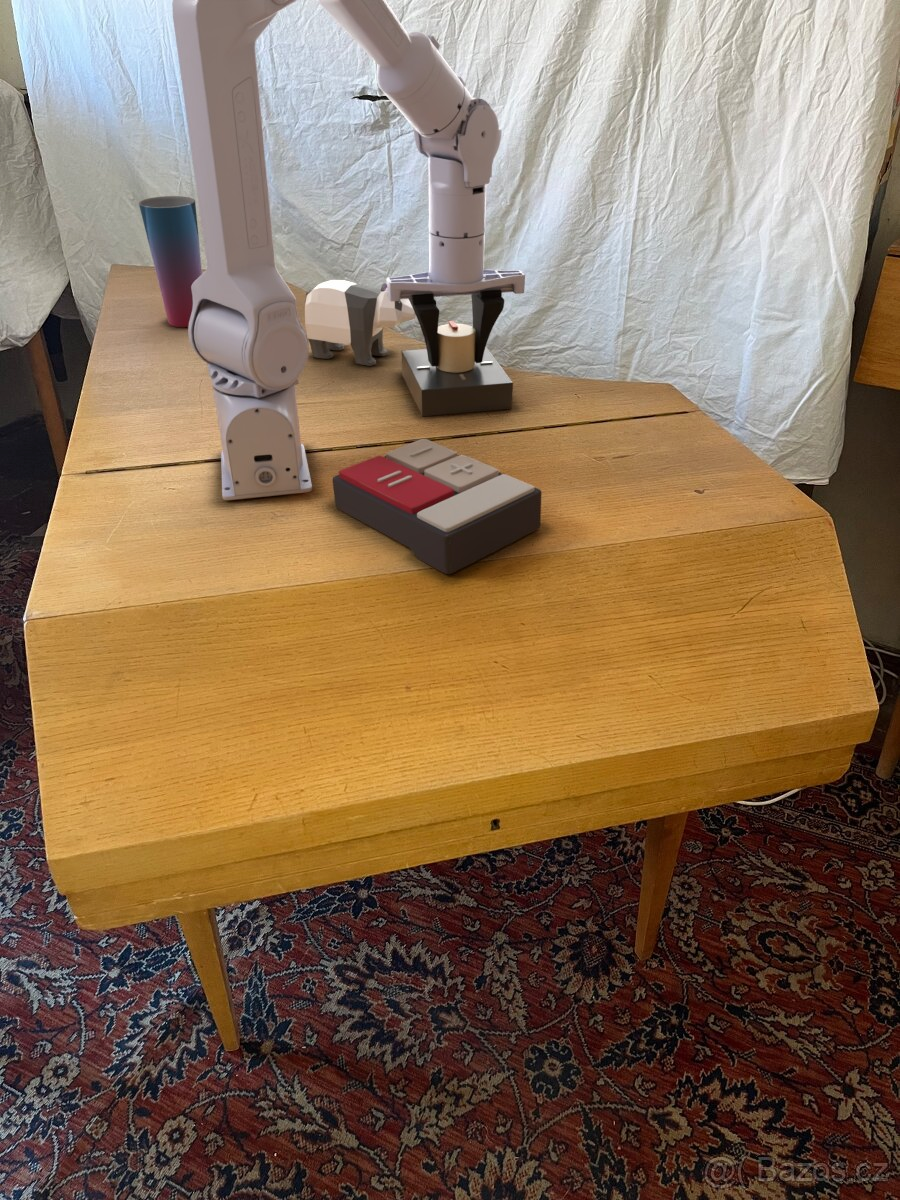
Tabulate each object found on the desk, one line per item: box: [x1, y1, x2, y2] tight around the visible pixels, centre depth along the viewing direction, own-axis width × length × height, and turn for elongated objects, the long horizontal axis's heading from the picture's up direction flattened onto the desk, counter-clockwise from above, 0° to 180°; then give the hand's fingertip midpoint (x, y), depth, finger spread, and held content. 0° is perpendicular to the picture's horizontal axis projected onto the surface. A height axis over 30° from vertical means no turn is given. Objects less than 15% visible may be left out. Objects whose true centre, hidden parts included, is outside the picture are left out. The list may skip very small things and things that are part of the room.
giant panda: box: [304, 279, 417, 367], centre depth 103 cm, size 15×6×10 cm, turn 70°
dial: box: [436, 320, 476, 373], centre depth 94 cm, size 4×4×4 cm
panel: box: [401, 346, 514, 417], centre depth 96 cm, size 12×10×3 cm
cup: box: [138, 195, 203, 328], centre depth 112 cm, size 7×7×15 cm
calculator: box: [331, 438, 542, 575], centre depth 73 cm, size 11×4×15 cm
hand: (455, 361), depth 95 cm, fingers closed on dial, 4 cm apart
